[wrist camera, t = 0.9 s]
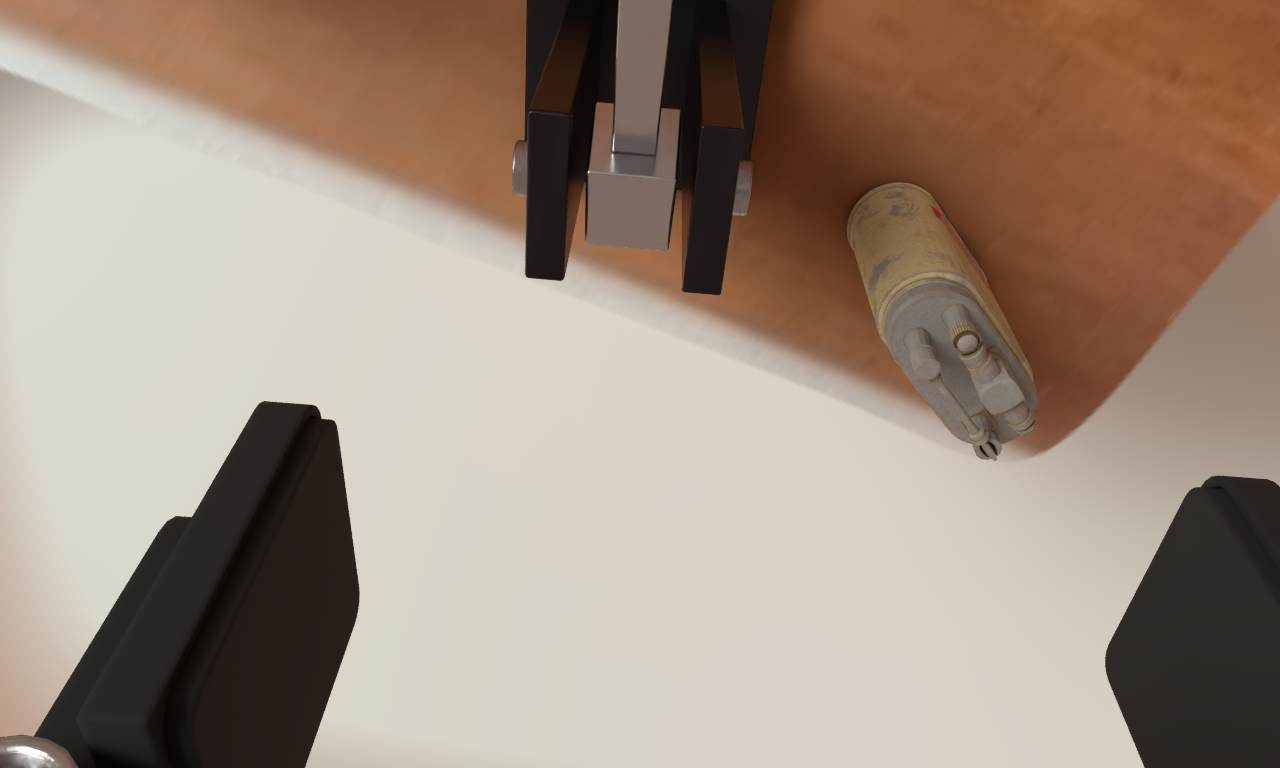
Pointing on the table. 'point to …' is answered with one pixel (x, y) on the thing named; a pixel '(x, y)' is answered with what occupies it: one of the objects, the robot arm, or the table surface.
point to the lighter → (941, 317)
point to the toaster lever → (635, 138)
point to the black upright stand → (694, 83)
